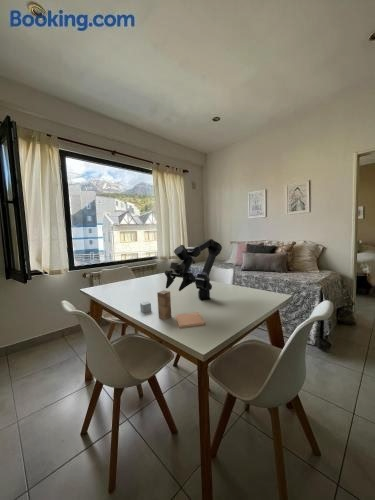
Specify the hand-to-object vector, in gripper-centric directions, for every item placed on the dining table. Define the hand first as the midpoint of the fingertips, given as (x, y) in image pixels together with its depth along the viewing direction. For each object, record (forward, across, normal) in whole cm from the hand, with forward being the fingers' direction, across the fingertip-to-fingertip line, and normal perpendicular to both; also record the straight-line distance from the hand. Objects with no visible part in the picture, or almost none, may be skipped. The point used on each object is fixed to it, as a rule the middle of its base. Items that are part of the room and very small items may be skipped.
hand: (172, 289), depth 107 cm
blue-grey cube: (+14, -15, +5) cm, 21 cm away
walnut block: (+14, 0, +4) cm, 14 cm away
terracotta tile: (+11, +13, +7) cm, 18 cm away
